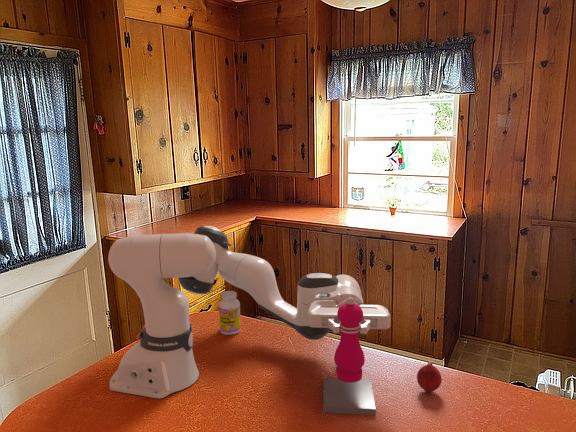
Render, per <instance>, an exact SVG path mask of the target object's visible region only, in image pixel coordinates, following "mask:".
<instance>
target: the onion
mask: <svg viewBox="0 0 576 432" xmlns="http://www.w3.org/2000/svg"><path fill="white" fill-rule="evenodd" d="M416 379H417V380H416V381H417V383H418V385H419V387H420V388H421V389H422V390H424V391H425V392H427V393H432V392H434V391H437V389H439V388H440V387H441V385H442V375H441V372H440V370H439V369H438V368H437V367H436V366H434V365H433V362H432V361H429V362H428V361H427V364H425V365H422V366H421V368H419V369H418V371H417V373H416Z"/></svg>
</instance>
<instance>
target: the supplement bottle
mask: <svg viewBox="0 0 576 432" xmlns="http://www.w3.org/2000/svg"><path fill="white" fill-rule="evenodd" d="M237 294H238V293H237V292H236V291H235V290H225V291H223V292H221V300H220V301H219V303H218V314H219V315H218V317H219V318H218V319H219V320H218V321H219V331H220V333H221V334H222V335H226V336H230V335H231V336H233V335H236V334H238V333H239V332H240V330H241V303H240V301H239V300H238V298H237V296H238V295H237Z"/></svg>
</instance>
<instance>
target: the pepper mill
mask: <svg viewBox="0 0 576 432" xmlns="http://www.w3.org/2000/svg"><path fill="white" fill-rule="evenodd" d="M337 316H338V319H339V321H340V323H339V325H340V330H339V331H340V333H341V334H340V339H339V343H338V345H337V347H336V349H335V352H334V355H333V357H334V358H333V360H334V364H335V365H336V368H335V376H336V379H339V380H341V381H343V382H347V383H353V382H357V381H359V380H360V379H363V367H364V365H365V362H366V361H365V354H364V351H363V348H362V347H361V344H360V338H359V335H360V334H359V333H360V330H361V328H360V327H361V324H360V322H361V321H362V319H363V311H362V309H361V307H360V306H359V305H357V304H355V303H354V299H353V298H351V297H349V298H348V299H347V303H345V304H342V305H341V306H340V307H339V309H338V313H337Z"/></svg>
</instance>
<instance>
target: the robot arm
mask: <svg viewBox="0 0 576 432" xmlns="http://www.w3.org/2000/svg"><path fill="white" fill-rule="evenodd" d="M112 243H113V244H112V245H111V246H110V248H109V251H108V256H107V257H108V260H107V261H108V265H109V268H110V269H111V272H112V273H113V274H114V275H115V276H116V277H117V278H119V279H121V280H123V281H124V282H126V283H127V284H128V286H130V287H131V288H132V290H134V291H135V293H136V294H137V296H138V297H139V298H138V299H139V300H140V303H141V305H142V310H143V317H144V324H143V325H142V328H141V329H140V331H139V332H138V334H137V335H136V341H137V342H138V341H139V342H138V343H136V344H134V345H133V346H132V347H131V348H130V349H128V350H127V351H126V352H125V353H124V354H123V356H122V357H121V360H120V361H119V364H118V368H117V369H116V371H115V372H114V373H113V375H112V376H111V377H110V380H109V390H110V391H112V392H118V393H119V392H120V393H125V394H130V395H136V396H142V397H149V398H154V399H162V398H163V399H164V398H165V397H168V396H169V395H171V394H173V393H176V392H179V391H182V390H184V389H187V388H189V387H191V386H192V385H194V384H195V383H196V381H197V380H198V378H199V377H200V376H199V375H200V371H199V369H198V367H197V363H196V360H195V356H194V352H193V344H194V335H193V328H192V323H191V322H190V320H191V319H190V305H189V303H190V301H189V299H188V297H187V296H186V294H185V293H184V292H183V291H182V290H180V289H178V288H175V287H173V286H171V285H169V284H168V283H167V282H166V281H165V280H164V279H175V278H176V279H177V278H178V281H179V285H180V286H181V287H182V289H184V290H185V291H187V292H188V293H190V294H192V295H198V296H199V295H207V294H208V293H210V292H211V290H212V289H213V286H214V285H215V284H214V282H215V280H216V278H217V275H219V277H220V278H222V279H223V280H224V281H226V282H227V283H228V284H231V285H232V286H234V287H235V288H238V289H240V290H243V291H244V292H246V293H248V294H249V295H250V296H251V297H252V299H254V300H255V302H256V304H257V306H259V308H261V309H262V310H264V311H265V312H266V313H268V314H270V315H271V316H273V317H274V318H276V319H278V320H279V321H281V322H283V323H284V324H285V325H288V326H289V327H290V328H292V329H294V331H295V332H297V333H298V334H299V335H301V337H303V338H304V339H307V340H310V341H311V340H313V341H317V340H321V339H323V338H324V337H325V336H327V335H328V334H329V332H331V331H332V333H333V334H340V331H341V330H340V325H339V323H340V321H339V319H338V316H337V313H338V309H339V307H340V306H341V305H342V304H345V303H347V299H348V298H349V297H351V298H353V299H354V303H355V304H357V305H359V306H360V307H361V309H362V311H363V319H362V321H361V322H360V324H361V327H360V328H361V330H360V331H359V333H360V334H361V335H367V334H368V331H369V330H388V329H389V328H390V327H391V321H392V320H391V319H392V318H391V313H390V311H389V310H388V308H387V307H386V306H384V305H381V304H368V303H367V304H364V299H363V296H362V290H361V287H360V285H359V282H358V281H357V280H356V279H355V278H354V277H353V276H351V275H348V274H337V275H334V274H332V273H330V272H325V271H312V272H308V273H307V274H305V275H304V276H302V277H301V278H300V279H299V280H298V281H297V292H296V295H297V298H296V299H297V303H296V304H297V305H296V307H295V306H293V305H292V304H290V303H288V302H287V301H285V300H284V299H283V297H282V295H281V293H280V290H279V287H278V284H277V280H276V274H275V272H274V268H273V267H272V265H271V264H270V262H268V261H267V260H266V259H264V258H261V257H259V256H256V255H252V254H248V253H243V252H242V253H241V252H234V251H231V250H229V248H228V247H232V244H230V243H229V239H228V237H227V235H226V233H224V232H223V231H221V229H219V228H218V227H216V226H213V225H204V226H202V225H200V226H198V227H196V229H195V231H194V233H189V232H182V233H181V232H180V233H179V232H177V233H159V234H158V233H156V234H155V233H154V234H151V233H150V234H135V235H134V234H133V235H130V236H125V237H122V238H118V239H116V240H115V241H114V242H112Z"/></svg>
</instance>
